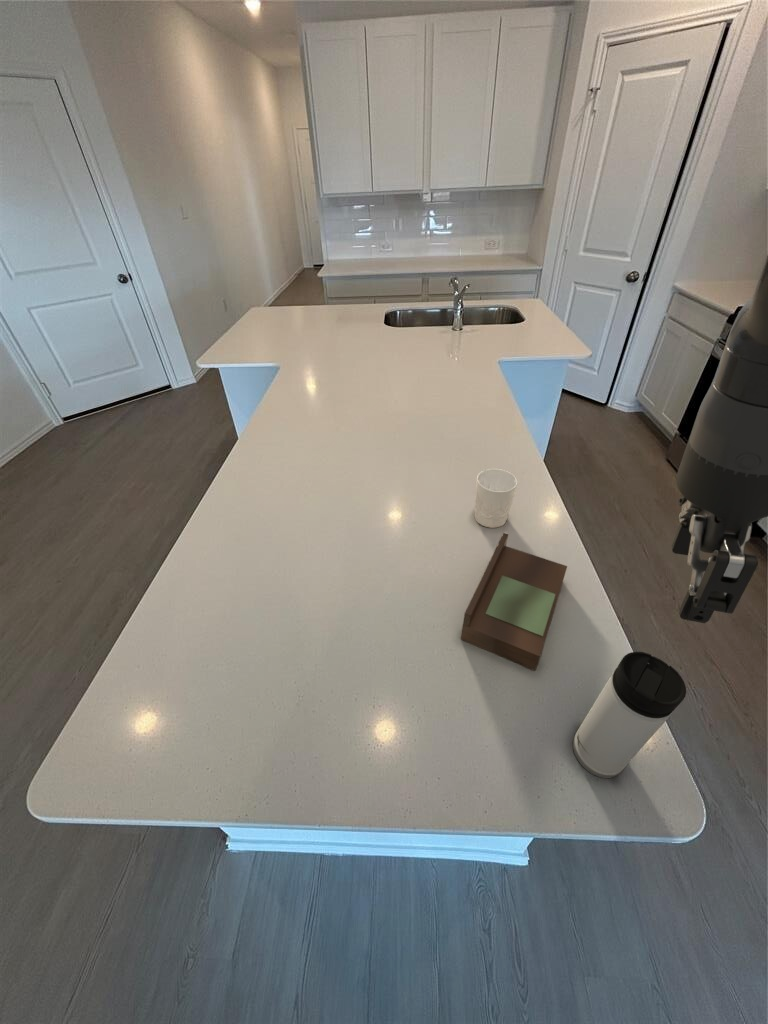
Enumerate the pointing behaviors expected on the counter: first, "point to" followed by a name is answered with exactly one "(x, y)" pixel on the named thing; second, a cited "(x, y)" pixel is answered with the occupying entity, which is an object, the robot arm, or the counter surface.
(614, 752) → the travel mug
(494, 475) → the white cup
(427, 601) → the counter surface
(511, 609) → the wooden coaster base
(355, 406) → the counter surface
